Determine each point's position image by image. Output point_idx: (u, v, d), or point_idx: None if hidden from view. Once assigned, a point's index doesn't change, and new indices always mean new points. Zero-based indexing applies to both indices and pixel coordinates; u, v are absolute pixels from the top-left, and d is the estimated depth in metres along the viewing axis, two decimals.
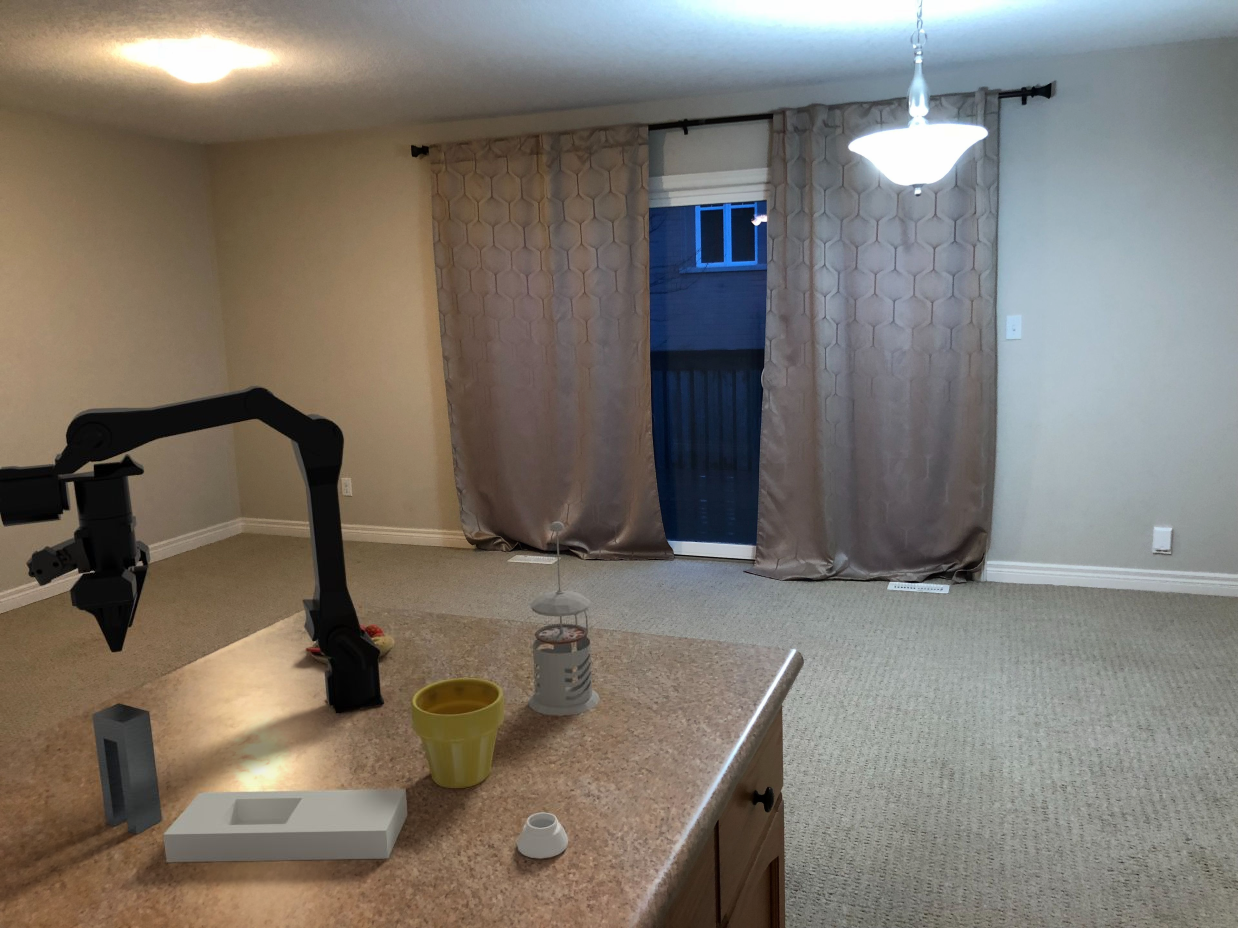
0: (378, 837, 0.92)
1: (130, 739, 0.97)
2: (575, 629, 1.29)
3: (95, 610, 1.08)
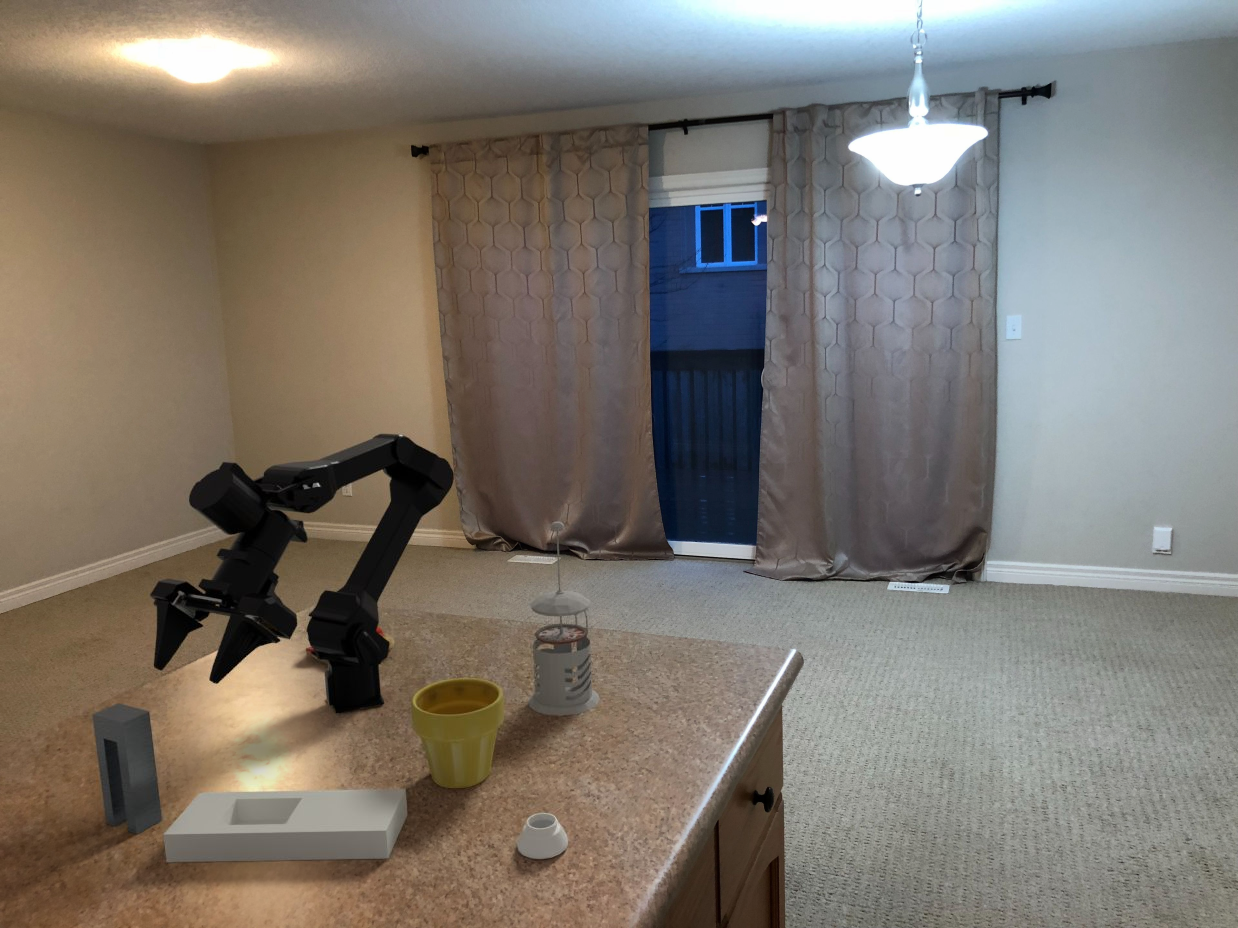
0: (378, 837, 0.92)
1: (130, 739, 0.97)
2: (575, 629, 1.29)
3: None
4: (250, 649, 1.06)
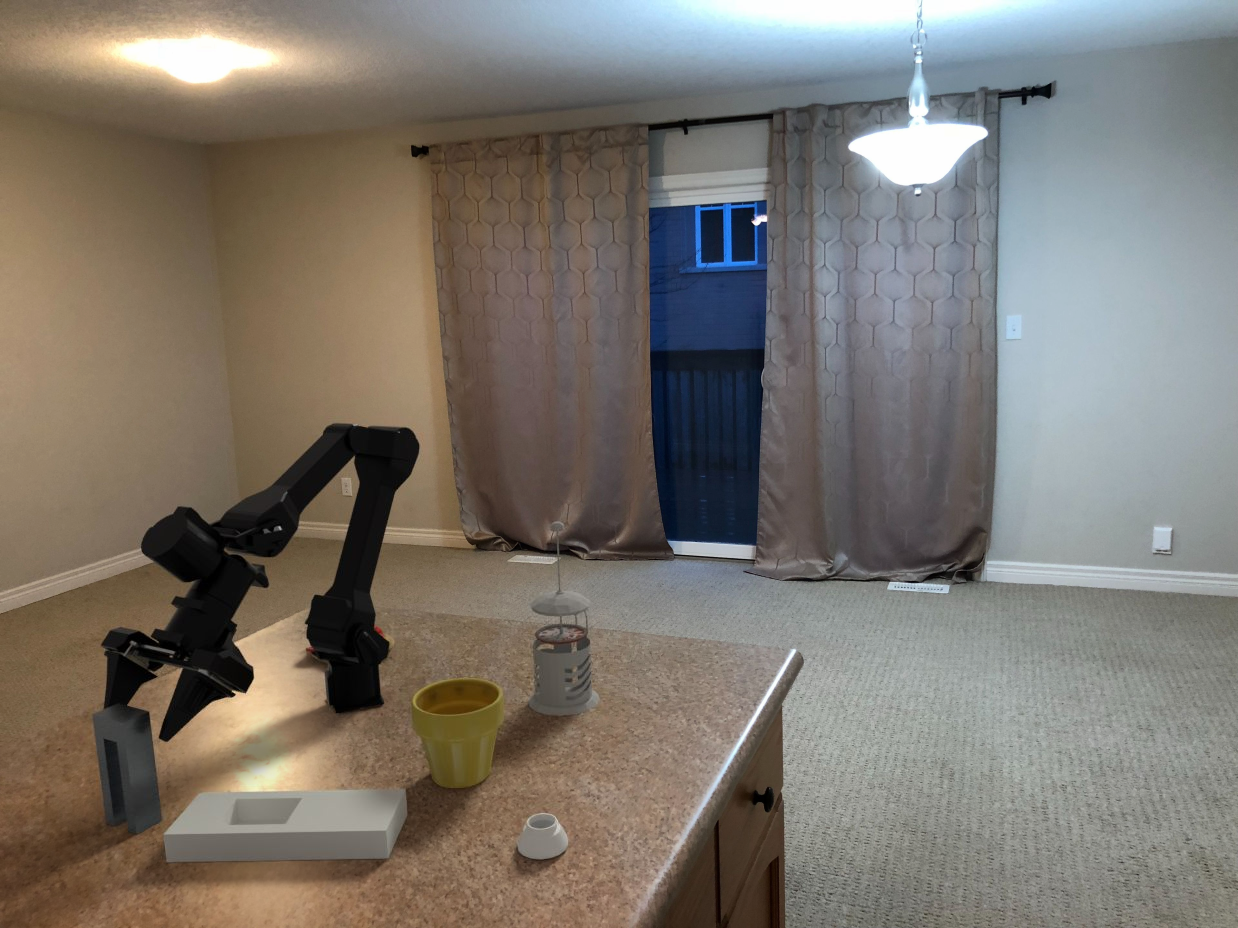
0: (378, 837, 0.92)
1: (130, 739, 0.97)
2: (575, 629, 1.29)
3: None
4: (203, 704, 1.00)
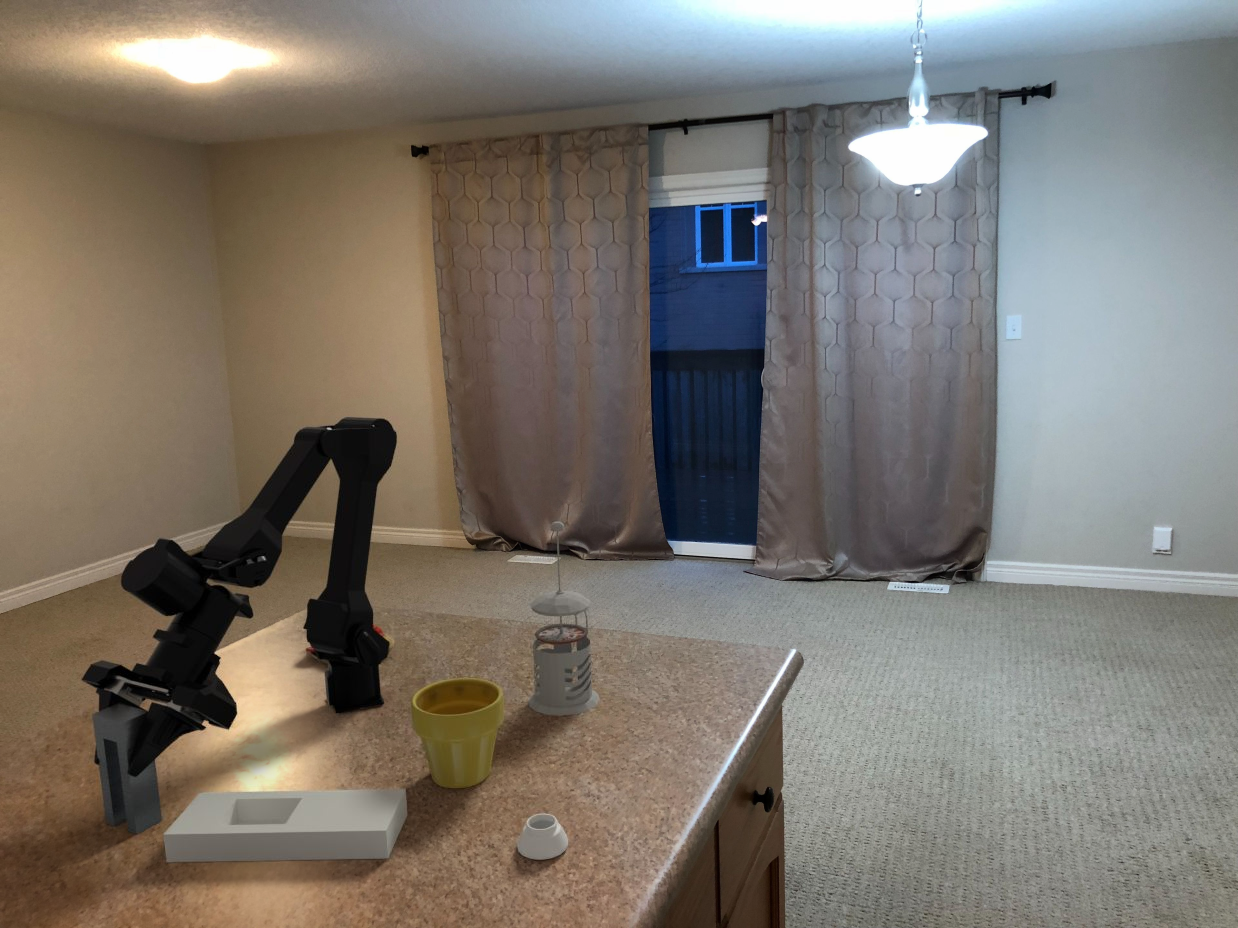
0: (378, 837, 0.92)
1: (130, 739, 0.97)
2: (575, 629, 1.29)
3: None
4: (173, 738, 0.99)
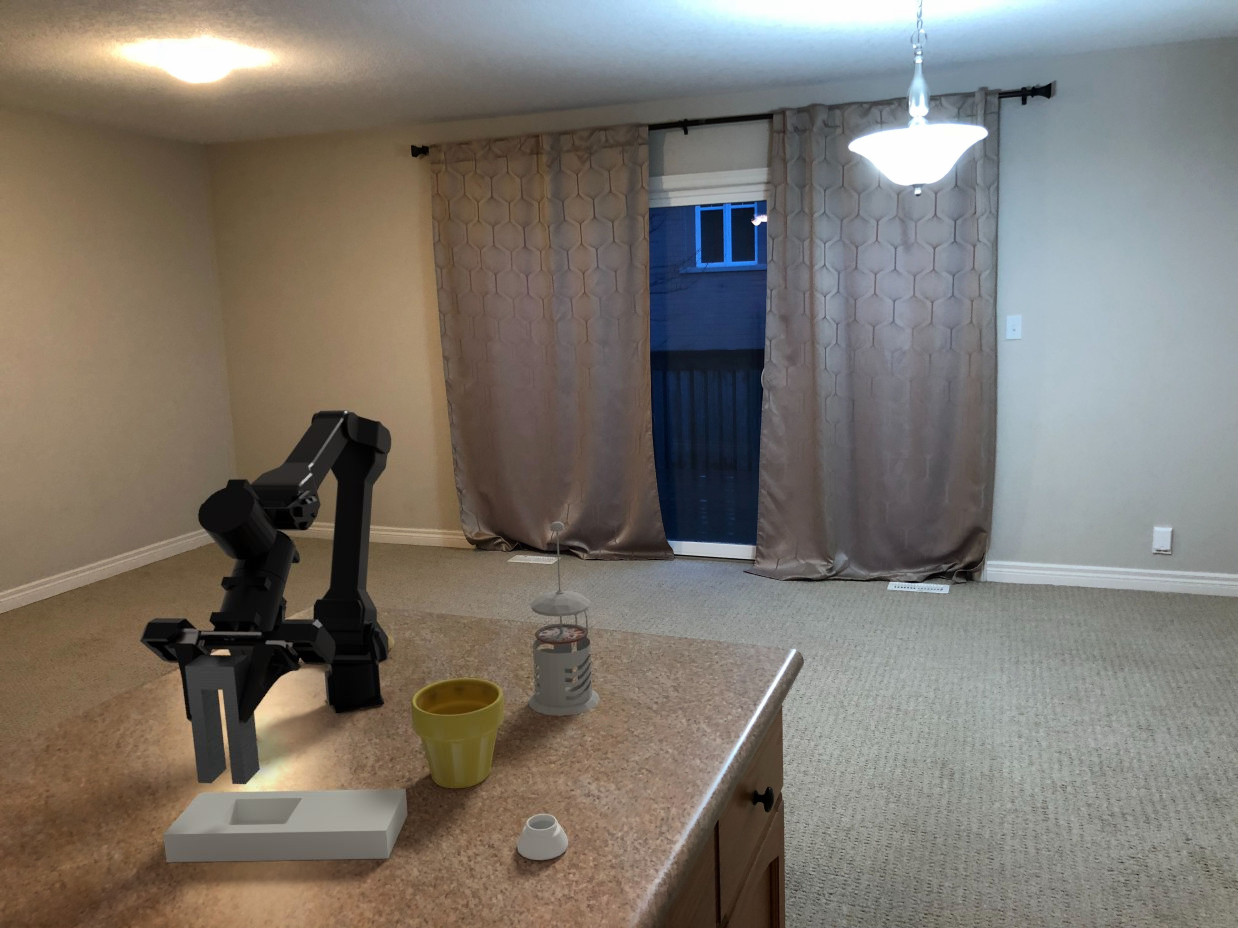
0: (378, 837, 0.92)
1: (238, 684, 0.93)
2: (575, 629, 1.29)
3: None
4: (273, 680, 0.96)
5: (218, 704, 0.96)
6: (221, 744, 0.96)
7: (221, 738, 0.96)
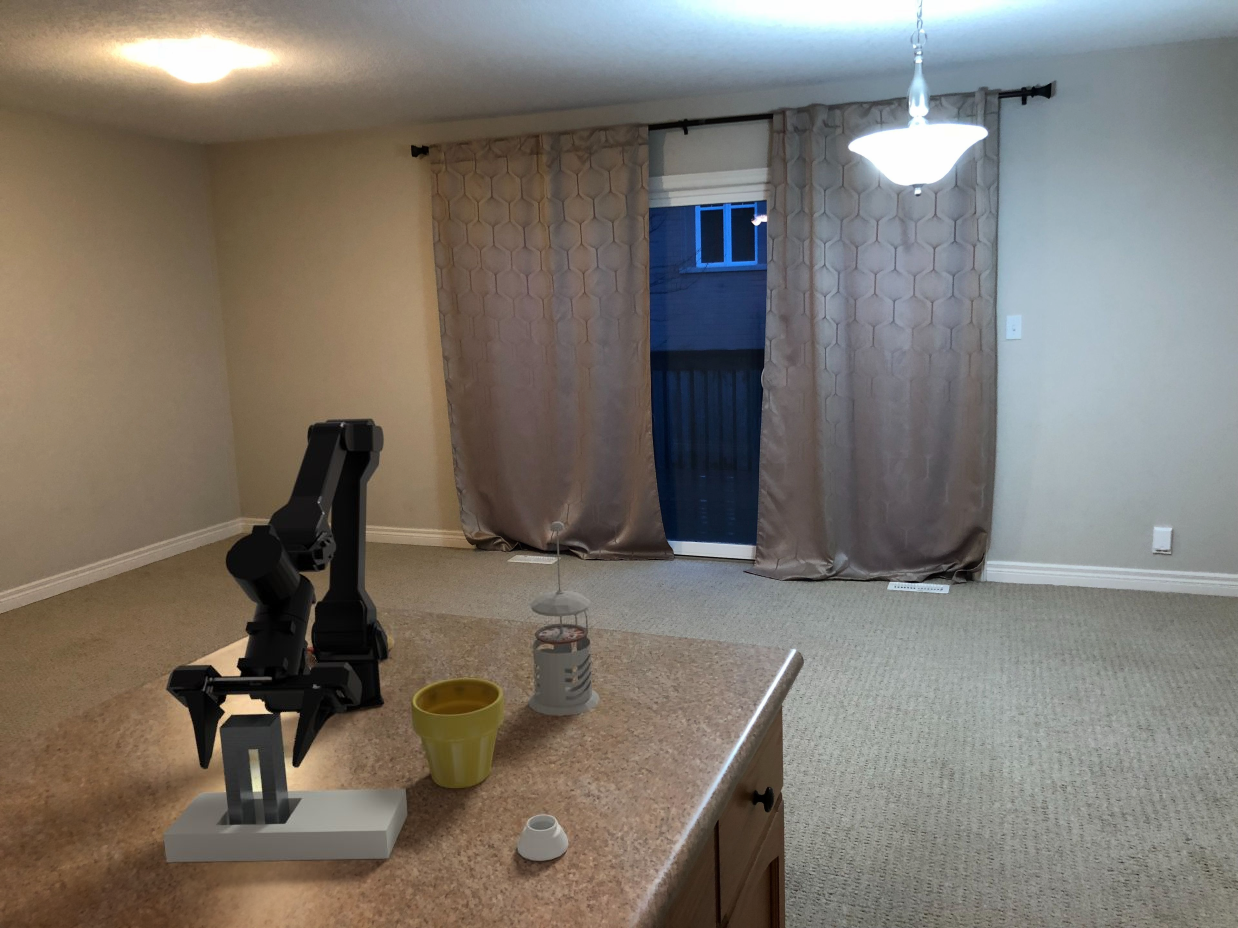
0: (378, 837, 0.92)
1: (273, 743, 0.94)
2: (575, 629, 1.29)
3: None
4: (322, 723, 0.97)
5: (249, 763, 0.97)
6: (252, 802, 0.97)
7: (252, 796, 0.97)
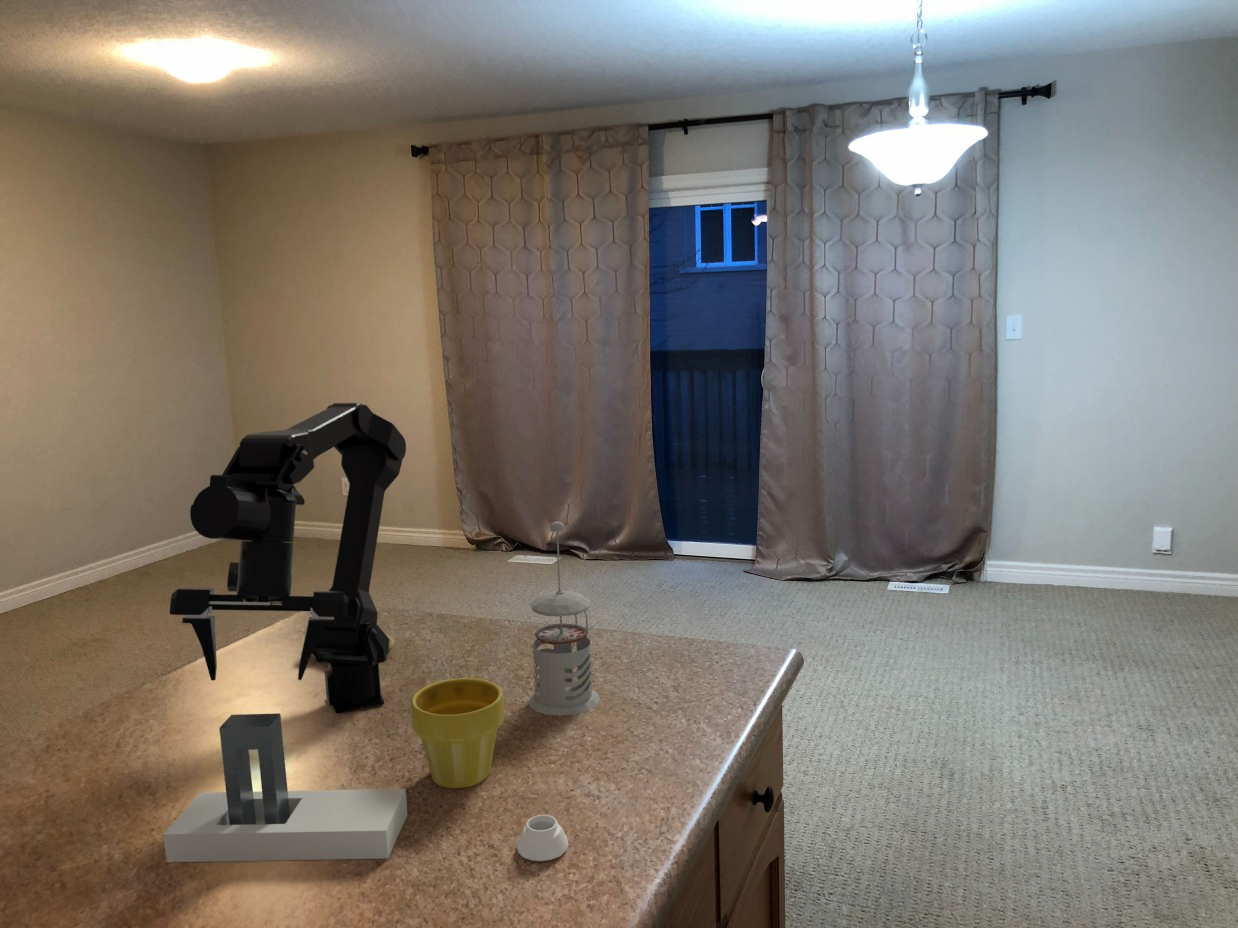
0: (378, 837, 0.92)
1: (273, 743, 0.94)
2: (575, 629, 1.29)
3: None
4: None
5: (249, 763, 0.97)
6: (252, 802, 0.97)
7: (252, 796, 0.97)
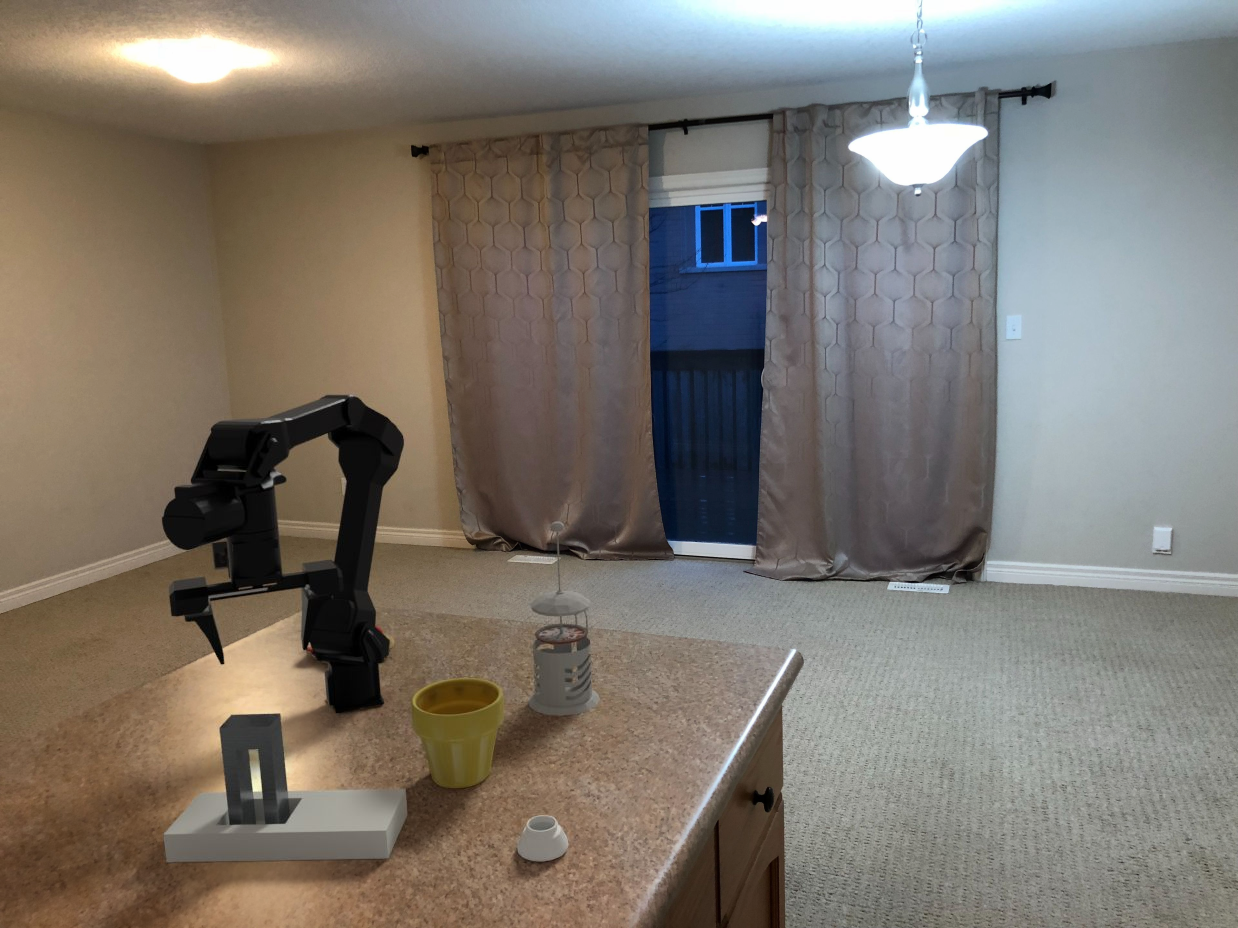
0: (378, 837, 0.92)
1: (273, 743, 0.94)
2: (575, 629, 1.29)
3: None
4: None
5: (249, 763, 0.97)
6: (252, 802, 0.97)
7: (252, 796, 0.97)
